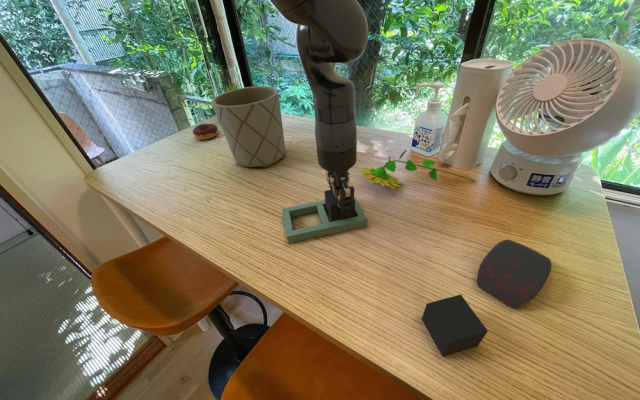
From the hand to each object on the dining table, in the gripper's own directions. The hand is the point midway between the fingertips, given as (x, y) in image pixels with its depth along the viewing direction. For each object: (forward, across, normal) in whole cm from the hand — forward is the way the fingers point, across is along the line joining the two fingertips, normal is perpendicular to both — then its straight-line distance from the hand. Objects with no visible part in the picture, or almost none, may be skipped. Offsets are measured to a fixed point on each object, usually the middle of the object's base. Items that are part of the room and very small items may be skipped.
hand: (339, 209), depth 57 cm
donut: (+2, -64, -38) cm, 74 cm away
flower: (+2, -8, +21) cm, 23 cm away
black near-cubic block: (+1, 0, 0) cm, 1 cm away
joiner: (+2, 0, -4) cm, 4 cm away
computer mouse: (+2, +23, +24) cm, 33 cm away
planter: (+2, -37, -17) cm, 41 cm away
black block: (+2, +29, +8) cm, 30 cm away
